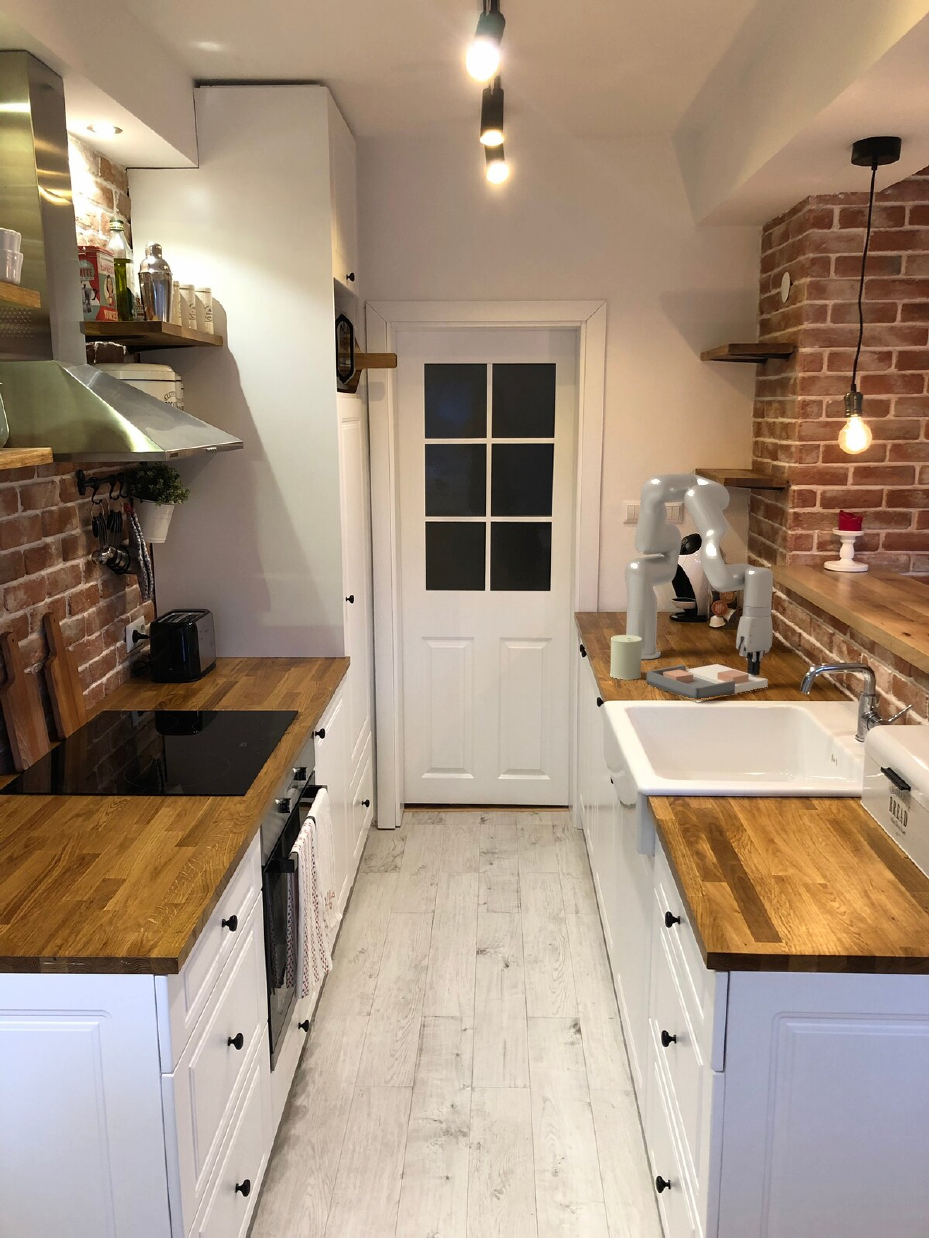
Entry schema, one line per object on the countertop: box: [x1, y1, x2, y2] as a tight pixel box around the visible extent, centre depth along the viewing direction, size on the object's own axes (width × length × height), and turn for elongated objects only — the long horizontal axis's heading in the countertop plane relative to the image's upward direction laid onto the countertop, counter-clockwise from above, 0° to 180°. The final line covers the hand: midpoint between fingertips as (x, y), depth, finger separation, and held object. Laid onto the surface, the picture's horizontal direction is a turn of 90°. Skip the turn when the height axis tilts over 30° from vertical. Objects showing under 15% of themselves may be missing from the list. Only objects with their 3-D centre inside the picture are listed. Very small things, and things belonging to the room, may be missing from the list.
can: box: [609, 634, 642, 681], centre depth 288 cm, size 9×9×12 cm
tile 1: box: [663, 670, 693, 683], centre depth 279 cm, size 6×6×2 cm
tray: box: [645, 664, 736, 699], centre depth 274 cm, size 21×14×4 cm
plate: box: [686, 663, 769, 693], centre depth 281 cm, size 20×13×2 cm, turn 30°
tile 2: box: [717, 669, 749, 684], centre depth 274 cm, size 6×6×2 cm
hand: (753, 673), depth 278 cm, fingers closed
